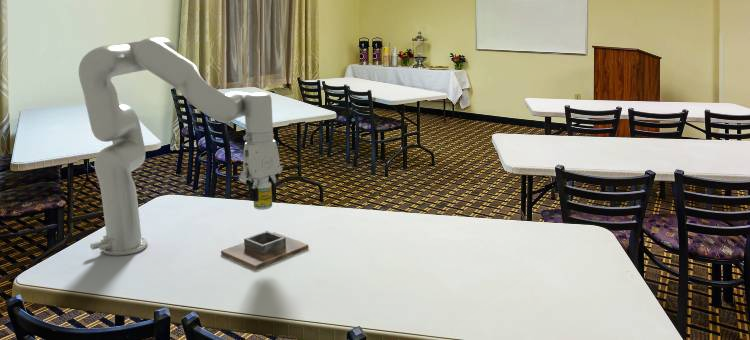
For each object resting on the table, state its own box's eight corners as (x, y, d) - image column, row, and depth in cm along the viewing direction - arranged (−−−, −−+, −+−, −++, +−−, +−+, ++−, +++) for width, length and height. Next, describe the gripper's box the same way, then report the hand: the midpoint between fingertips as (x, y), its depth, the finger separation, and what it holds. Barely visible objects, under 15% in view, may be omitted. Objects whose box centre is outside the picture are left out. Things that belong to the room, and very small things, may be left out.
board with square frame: (255, 269, 164) (254, 255, 163) (221, 254, 174) (220, 241, 173) (308, 248, 179) (308, 235, 178) (274, 235, 189) (273, 223, 188)
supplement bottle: (265, 203, 177) (264, 172, 174) (276, 207, 173) (274, 175, 170) (250, 207, 173) (248, 175, 171) (260, 211, 169) (258, 179, 167)
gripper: (243, 143, 159) (246, 208, 164) (291, 134, 171) (293, 194, 176) (226, 140, 164) (230, 202, 168) (274, 130, 176) (276, 189, 181)
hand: (262, 197), depth 172 cm, fingers closed on supplement bottle, 5 cm apart
